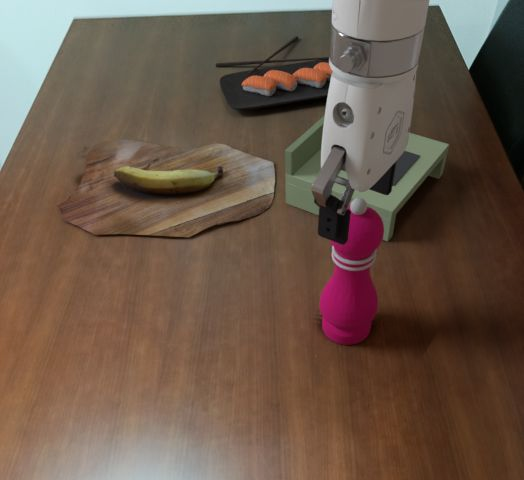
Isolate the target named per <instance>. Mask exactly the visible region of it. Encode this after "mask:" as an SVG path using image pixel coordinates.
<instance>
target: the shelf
mask: <svg viewBox="0 0 524 480" xmlns="http://www.w3.org/2000/svg"><path fill="white" fill-rule="evenodd" d="M324 117H325V114H324V115H322V116H321V118H320V119H319V120H318V121H316V122H315V123H314V124H313V125H312V126H311V127H309V128H308V129H307V130H306V131H305V132H304V133H303V134H302V135H300V136H299V138H297V139H296V140H295V141H294V142H293V143H292V144H290V145H289V146H288V147H287V148H286V149H285V150H284V152H285V153H284V160H285V161H284V162H285V163H284V164H285V166H284V167H285V169H284V170H285V172H284V174H285V204H287V205H289V206H292V207H295V208H297V209H300V210H303V211H305V212H308V213H311V214H313V215H315V216H318V217H319V207H318V206H317V204H315V203H314V196H313V194H312V191H311V187H312V184H313V182H314V180H315V179H316V177H317V175H318V173H319V172H320V170H321V146H322V135H323V125H324ZM449 148H450V144H449V143H446V142H443V141H439V140H435V139H432V138H429V137H426V136H422V135H418V134H415V133H413V132H410V133H409V139H408V144H407V147H406V149H405V151H404V152H403V154H402V155H401V156H400V157H399V158H398V160H397V162H396V168H395V174H394V180H393V186H392V191H391V193H390V194H389V195H384V194H381V193H378V192H375V191H372V190H369V189H368V190H366V191H364V192H359V191H358V190H354V193H353V196H352V198H351V201H350V203H349V205H350V204H351V202H352V201H353V200H354V199H356V198H362V199H364V200H365V201H366V203H367V206H368V207H370V208H372V209H373V210H375V211H376V212H377V213H378V214H379V215H380V217H381V218H382V221H383V224H384V236H383V240H382V241H385V242H389V241H390V240H391V239H392V237H393V235H394V229H395V223H396V218H397V214H398V213H399V212H400V210H401V209H402V208H403V207H404V205H405V204H406V203H407V202H408V201H409V199H410V198H411V197H412V196H413V194H414V193H415V192H416V191H417V190H418V189H419V188H420V186H421V185H422V184H423V183H424V182H425V180H426V179H427V178H428V177H431V178H434V179H437V180H440V179H441V177H442V175H443V174H444V171H445V166H446V161H447V157H448V153H449ZM338 176H339V177H342V178H344V179H347V180H348V177H347V174H346V171H343V170H341V171H340V172H339V174H338ZM344 190H345V186H342V185H340V184H337V183H334V185H333V187H332V195H333V196H335V197H337V198H338V199H339V200H341V198H342V195H343V192H344Z"/></svg>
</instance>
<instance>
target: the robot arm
mask: <svg viewBox="0 0 524 480" xmlns="http://www.w3.org/2000/svg"><path fill="white" fill-rule="evenodd" d="M429 6H430V0H332V5H331V22H330V23H331V24H330V37H329V38H330V40H329V56H328V57H329V66H330V68H331V70H332V71H333V72H332V75H331V80H330V85H329V91H328V97H326V103H325V110H324V115H325V117H324V125H323V135H322V146H321V170H320V172H319V173H318V175H317V177H316V179H315V180H314V182H313V184H312V187H311V191H312V194H313V196H314V203H315V204H317V206H318V207H319V216H318V219H317V221H318V222H317V235H318V236H320V237H321V238H324V239H326V240H329V241H330V240H331V241H334V242H336V243H339V244H341V245H345V243H346V242H347V241H348V234H349V225H350V216H351V211H350V210H348V209H347V208H348V206H349V203H350V201H351V198H352V196H353V193H354V190H358V191H359V192H364V191H366V190H368V189H369V190H372V191H375V192H378V193H381V194H384V195H389V194H390V193H391V191H392V186H393V180H394V174H395V168H396V162H397V160H398V158H399V157H400V156H401V155H402V154H403V152H404V151H405V149H406V147H407V144H408V139H409V133H411V132H410V131H411V125H412V117H413V111H414V110H413V109H414V103H415V102H414V101H415V94H416V93H415V92H416V83H417V71H418V68H419V64H420V63H419V62H420V57H421V51H422V44H423V40H424V35H425V34H424V33H425V29H426V28H425V27H426V23H427V17H428V13H429ZM341 170H343V171H346V174H347V177H348V180H347V179H344V178H342V177H339V176H338V174H339V172H340V171H341ZM334 183H337V184H340V185H342V186H345V190H344V192H343V195H342V198H341V200H339V199H338V198H337V197H335V196H333V195H332V187H333V185H334Z"/></svg>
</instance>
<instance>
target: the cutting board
mask: <svg viewBox="0 0 524 480" xmlns="http://www.w3.org/2000/svg"><path fill="white" fill-rule="evenodd" d="M86 157H87V158H86V163H85V170H84V172H83V176H82V177H81V180H80V183H79V185H78V186H77V187H76V189H75V190H74V191H73V193H72V194H71V195H70V196H69V197H68V198H67V199H66V200H65V201H63V202H61V203H60V204H57V205H55V207H56V208H59V209H60V211H61V218H62V220H63V221H65V222H68V223H70V224H72V225H74V226H76V227H78V228H80V229H82V230H84V231H87V232H88V233H91V234H92V235H94V236H102V235H135V236H136V235H137V236H153V237H155V236H156V237H175V238H191V237H192V236H195V235H197V234H199V233H200V232H202V231H204V230H206V229H208V228H211V227H213V226H216V225H217V226H219V225H224V224H228V223H229V222H239V221H242V220H246V219H247V218H251V217H255V216H258V215H260V214H262V213H264V212H265V211H266V210H268V209H269V208H270V207H271V205H272V203H273V200H274V196H275V185H276V184H275V183H276V169H275V164H274V161H270V160H267V159H265V158H261V157H259V156H255V155H253V154H249V153H247V152H244V151H242V150H239V149H237V148H233V147H231V146H229V145H227V144H224V143H218V142H217V143H215V142H214V143H211V144H205V145H203V146H198V147H189V148H180V147H174V146H171V145H164V144H158V143H157V144H156V143H151V142H146V141H141V140H137V139H131V138H129V139H116V140H106V141H103V142H100V143H97V144H94V146H93V147H92V148H91V149H90V150H89V151H88V152H87V156H86Z"/></svg>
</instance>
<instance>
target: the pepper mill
mask: <svg viewBox="0 0 524 480" xmlns="http://www.w3.org/2000/svg"><path fill="white" fill-rule="evenodd" d="M347 209H348V210H350V211H351V216H350V225H349V234H348V241H347V242H346V243H345V245H341V244H339V243H336V242H334V241H331V240H329V242H330V245H331V259H332V262H333V264H334V270H333V274H332V276H331V277H330V278H329V280H328V281H327V282H326V284H325V285H324V287H323V289H322V291H321V293H320V298H319V305H318V306H319V310H320V314H321V316H322V322H321V327H322V331H323V333H324V335H325V336H326V337H327V338H328V340H330V341H332V342H333V343H336V344H339V345H343V346H351V345H357V344H359V343H361V342H363V341H364V340H365V339H367V337H368V336H369V335H370V332H371V328H372V322H373V320H374V318H375V317H376V315H377V313H378V309H379V298H378V294H377V293H378V292H377V289H376V287H375V284H374V282H373V280H372V276H371V267H372V266H373V265H374V263H375V262H376V259H377V253H378V249H379V247H380V245H381V244H382V242H383V241H384V240H383V236H384V224H383V221H382V218H381V217H380V215H379V214H378V213H377V212H376V211H375V210H373V209H372V208H370V207H368V206H367V203H366V201H365V200H364V199H362V198H356V199H354V200H353V201H352V202H351V204H350V205H349V206H348V208H347Z"/></svg>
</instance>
